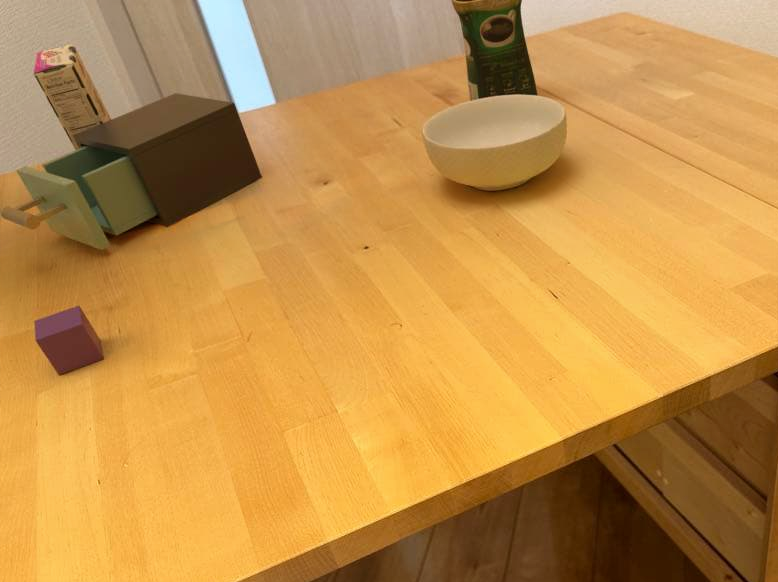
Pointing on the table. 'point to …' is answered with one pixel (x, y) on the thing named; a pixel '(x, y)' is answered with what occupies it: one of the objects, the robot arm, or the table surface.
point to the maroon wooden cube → (68, 340)
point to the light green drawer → (84, 196)
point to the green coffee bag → (495, 48)
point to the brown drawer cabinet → (181, 152)
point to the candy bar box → (69, 90)
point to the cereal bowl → (496, 140)
